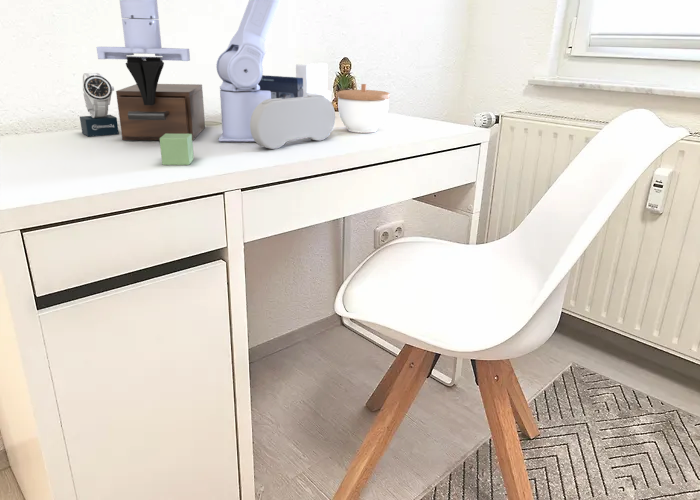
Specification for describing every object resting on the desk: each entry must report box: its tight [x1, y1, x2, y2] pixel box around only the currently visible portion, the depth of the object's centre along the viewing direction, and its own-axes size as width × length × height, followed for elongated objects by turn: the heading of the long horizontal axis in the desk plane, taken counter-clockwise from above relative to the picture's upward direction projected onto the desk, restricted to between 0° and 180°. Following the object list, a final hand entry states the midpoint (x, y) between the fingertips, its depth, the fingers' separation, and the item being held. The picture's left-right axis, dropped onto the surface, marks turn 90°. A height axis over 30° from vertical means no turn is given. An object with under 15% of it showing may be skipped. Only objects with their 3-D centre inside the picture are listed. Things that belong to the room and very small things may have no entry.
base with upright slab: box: [295, 62, 332, 103], centre depth 129 cm, size 9×9×12 cm
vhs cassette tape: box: [258, 74, 303, 99], centre depth 120 cm, size 18×3×10 cm, turn 64°
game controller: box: [250, 95, 336, 150], centre depth 98 cm, size 20×2×8 cm, turn 140°
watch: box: [79, 72, 120, 138], centre depth 102 cm, size 6×8×11 cm
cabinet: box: [115, 83, 206, 141], centre depth 105 cm, size 15×13×9 cm
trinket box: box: [336, 83, 391, 134], centre depth 113 cm, size 11×11×9 cm
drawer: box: [117, 96, 189, 137], centre depth 101 cm, size 18×11×7 cm, turn 5°
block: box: [159, 134, 195, 166], centre depth 83 cm, size 4×4×4 cm
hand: (149, 104), depth 94 cm, fingers closed
